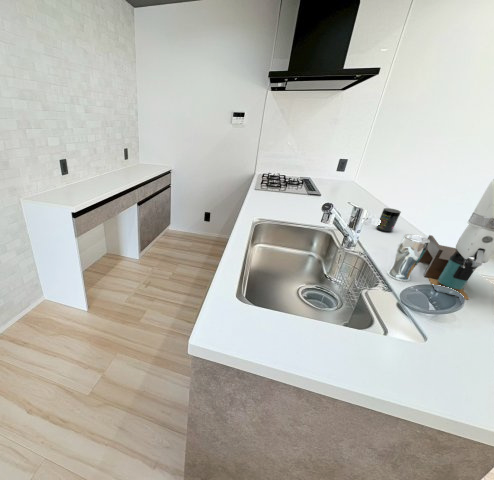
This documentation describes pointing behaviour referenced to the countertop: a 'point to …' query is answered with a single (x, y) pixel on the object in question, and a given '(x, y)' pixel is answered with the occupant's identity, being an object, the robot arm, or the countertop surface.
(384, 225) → the supplement container
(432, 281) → the cork mat
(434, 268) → the shelf
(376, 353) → the countertop surface
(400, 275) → the beer glass
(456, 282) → the spice tin
